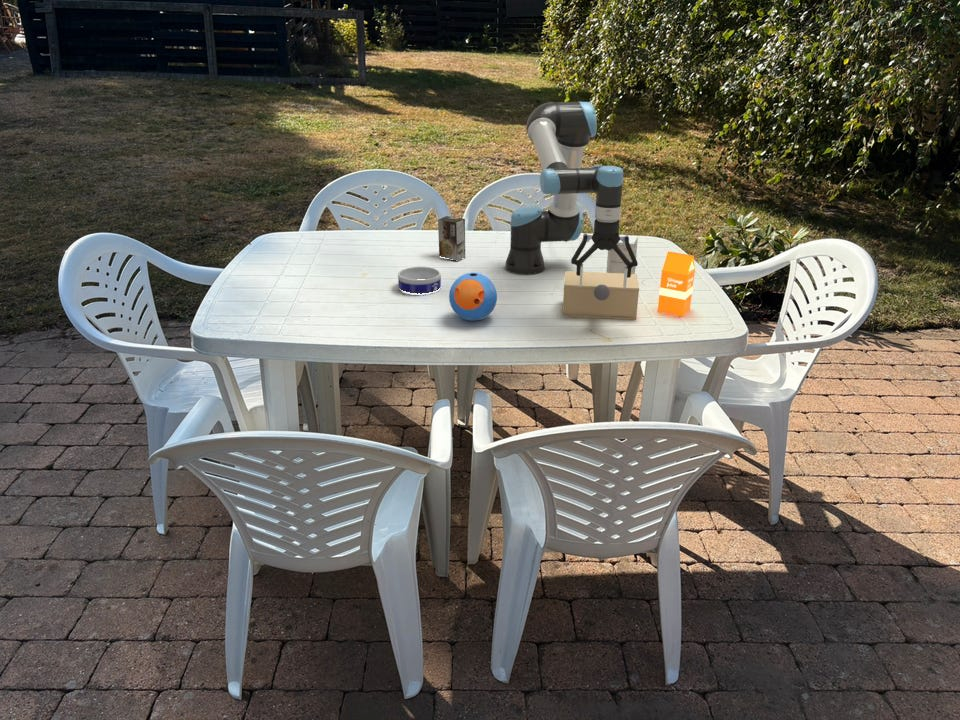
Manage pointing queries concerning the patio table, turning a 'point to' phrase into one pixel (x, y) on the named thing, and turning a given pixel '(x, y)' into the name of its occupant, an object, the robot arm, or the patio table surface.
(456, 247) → the coffee box
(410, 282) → the dog bowl
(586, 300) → the carton
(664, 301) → the orange juice
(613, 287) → the carton lid
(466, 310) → the treat dispenser ball
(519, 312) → the patio table surface
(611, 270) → the supplement box
